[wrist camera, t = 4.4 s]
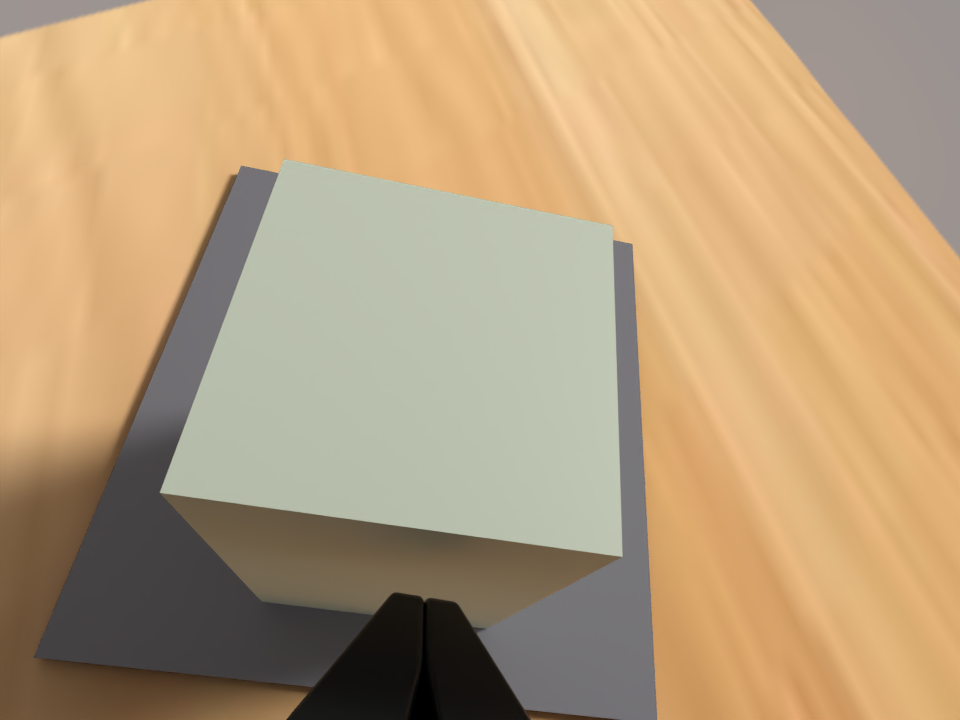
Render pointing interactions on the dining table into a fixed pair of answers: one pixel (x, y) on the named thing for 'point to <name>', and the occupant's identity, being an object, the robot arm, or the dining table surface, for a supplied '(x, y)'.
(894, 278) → the dining table surface
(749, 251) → the dining table surface
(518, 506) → the sage block
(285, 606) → the rubber mat
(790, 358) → the dining table surface
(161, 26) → the dining table surface
